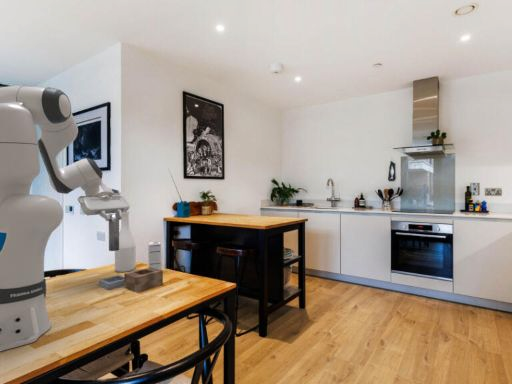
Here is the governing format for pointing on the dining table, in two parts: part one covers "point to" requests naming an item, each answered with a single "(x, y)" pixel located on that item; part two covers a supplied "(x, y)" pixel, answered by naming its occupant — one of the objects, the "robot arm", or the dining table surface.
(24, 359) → the dining table surface
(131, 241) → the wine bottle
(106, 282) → the slate tray
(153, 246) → the syrup box
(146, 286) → the walnut hollow rectangular frame
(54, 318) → the dining table surface
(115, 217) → the steel axle
